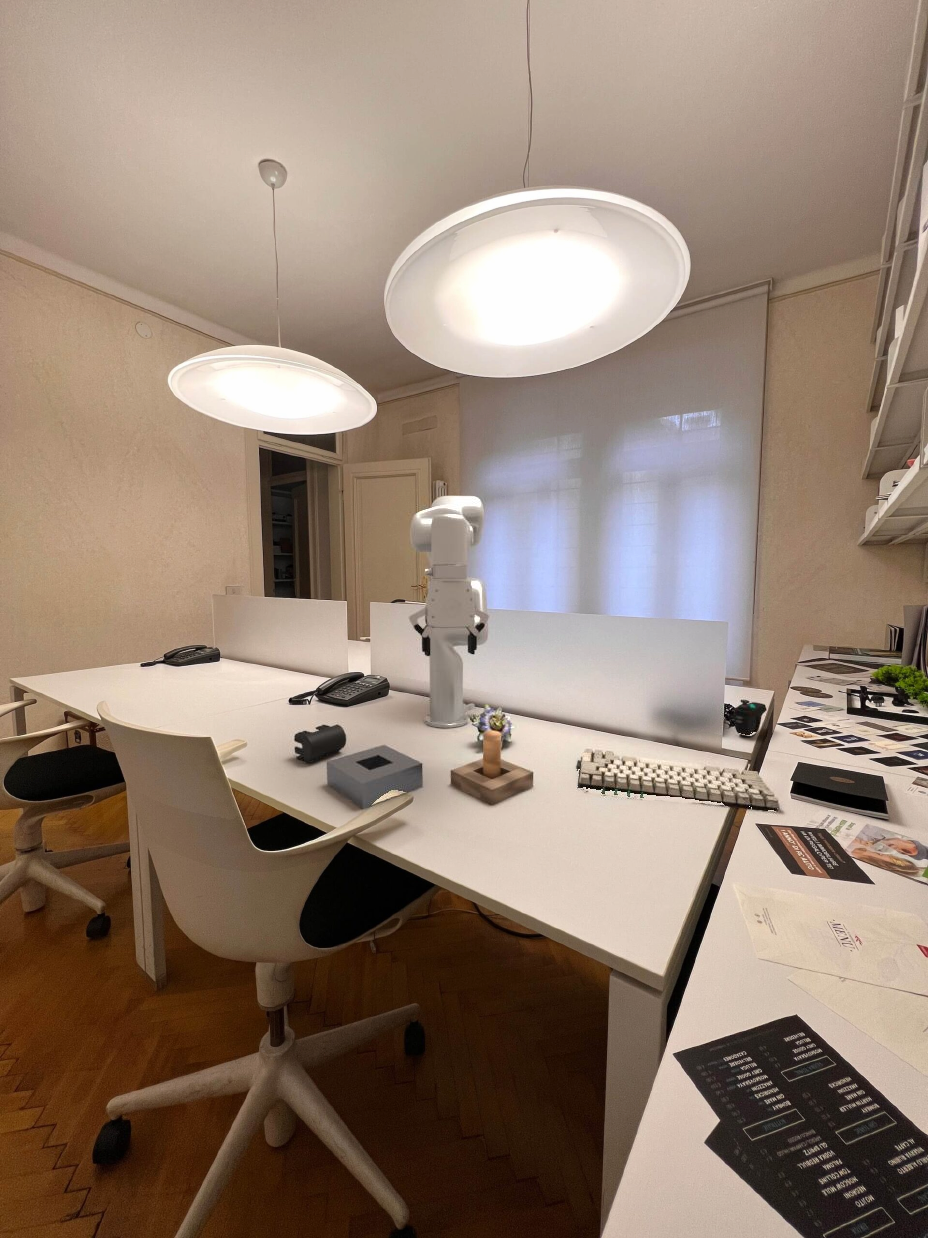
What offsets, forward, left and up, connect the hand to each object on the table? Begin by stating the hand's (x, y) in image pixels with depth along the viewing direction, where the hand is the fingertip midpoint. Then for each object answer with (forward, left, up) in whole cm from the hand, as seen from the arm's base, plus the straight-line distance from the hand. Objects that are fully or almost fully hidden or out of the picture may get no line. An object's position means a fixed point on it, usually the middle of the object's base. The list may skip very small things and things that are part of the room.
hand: (449, 654), depth 107 cm
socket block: (+16, -5, -26) cm, 31 cm away
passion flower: (-19, -6, -26) cm, 33 cm away
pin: (-2, +11, -26) cm, 28 cm away
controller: (-74, +36, -26) cm, 86 cm away
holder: (-2, +11, -26) cm, 28 cm away
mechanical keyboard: (-30, +35, -27) cm, 53 cm away
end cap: (+17, -27, -26) cm, 41 cm away
